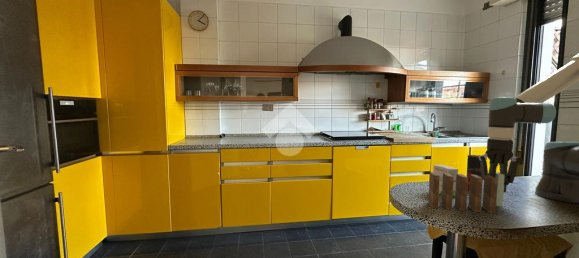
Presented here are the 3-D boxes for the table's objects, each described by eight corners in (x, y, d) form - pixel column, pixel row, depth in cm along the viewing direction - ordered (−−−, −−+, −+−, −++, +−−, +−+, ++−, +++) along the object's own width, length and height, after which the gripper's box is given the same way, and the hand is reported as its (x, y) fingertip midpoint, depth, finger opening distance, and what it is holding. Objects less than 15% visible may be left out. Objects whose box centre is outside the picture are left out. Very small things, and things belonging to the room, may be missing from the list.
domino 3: (473, 206, 94) (475, 174, 93) (480, 212, 89) (482, 178, 88) (468, 206, 94) (470, 174, 93) (474, 211, 89) (476, 177, 88)
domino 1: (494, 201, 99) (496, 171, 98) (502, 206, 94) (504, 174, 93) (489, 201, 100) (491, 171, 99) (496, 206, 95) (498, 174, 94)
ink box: (457, 197, 104) (459, 168, 104) (447, 197, 103) (449, 169, 103) (441, 190, 113) (442, 164, 112) (431, 191, 112) (432, 164, 111)
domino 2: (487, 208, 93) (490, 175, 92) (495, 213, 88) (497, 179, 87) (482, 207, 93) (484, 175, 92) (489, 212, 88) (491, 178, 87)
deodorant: (485, 190, 113) (487, 157, 112) (471, 190, 113) (473, 157, 112) (475, 186, 119) (477, 155, 118) (462, 186, 119) (464, 154, 118)
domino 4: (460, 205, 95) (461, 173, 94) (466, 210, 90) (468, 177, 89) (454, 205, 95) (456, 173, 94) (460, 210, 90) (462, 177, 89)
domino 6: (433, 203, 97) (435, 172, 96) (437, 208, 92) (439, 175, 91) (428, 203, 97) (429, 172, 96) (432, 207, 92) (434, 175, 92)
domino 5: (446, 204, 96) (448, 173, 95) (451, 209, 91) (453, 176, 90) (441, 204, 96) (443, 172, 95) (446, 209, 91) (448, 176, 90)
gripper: (517, 138, 97) (512, 198, 99) (472, 137, 100) (469, 195, 102) (530, 140, 90) (525, 205, 92) (482, 139, 93) (478, 201, 95)
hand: (495, 200), depth 97 cm, fingers closed on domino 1, 2 cm apart
